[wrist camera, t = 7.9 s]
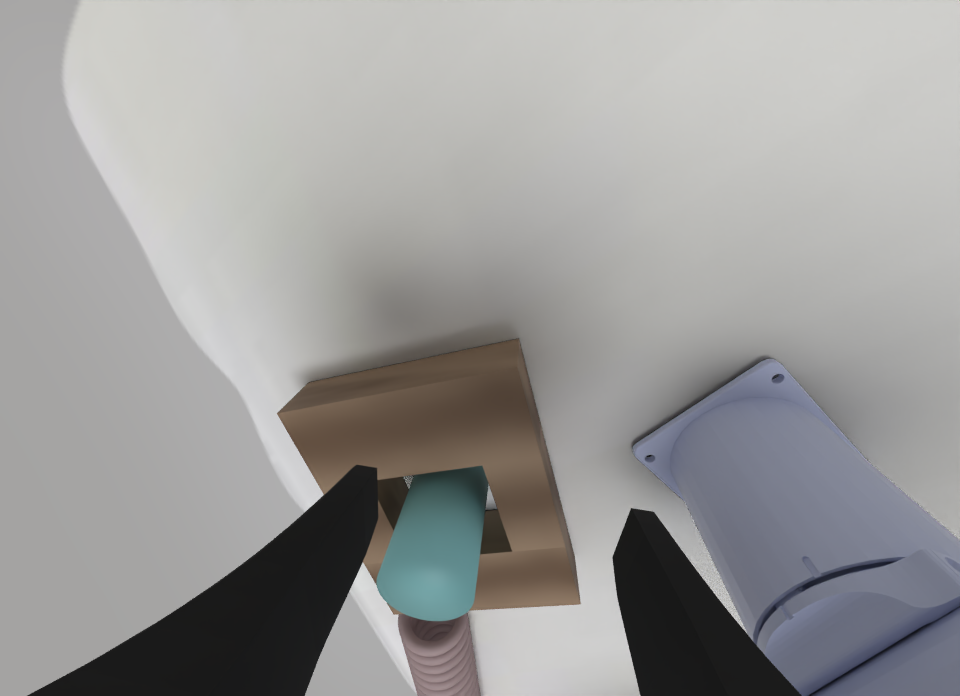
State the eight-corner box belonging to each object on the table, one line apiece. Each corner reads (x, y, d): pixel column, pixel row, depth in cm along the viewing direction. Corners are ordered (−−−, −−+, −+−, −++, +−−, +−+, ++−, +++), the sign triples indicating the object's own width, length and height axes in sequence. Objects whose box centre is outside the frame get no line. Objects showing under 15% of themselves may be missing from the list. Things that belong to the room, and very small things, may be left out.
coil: (486, 773, 31) (464, 645, 23) (429, 774, 31) (389, 648, 23) (486, 700, 35) (467, 572, 28) (435, 702, 35) (403, 575, 28)
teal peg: (504, 478, 23) (495, 597, 16) (456, 512, 24) (431, 632, 18) (449, 433, 22) (417, 542, 15) (403, 472, 23) (357, 584, 17)
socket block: (574, 557, 25) (580, 604, 22) (406, 570, 27) (393, 614, 25) (518, 338, 19) (517, 367, 16) (308, 382, 21) (276, 413, 18)
